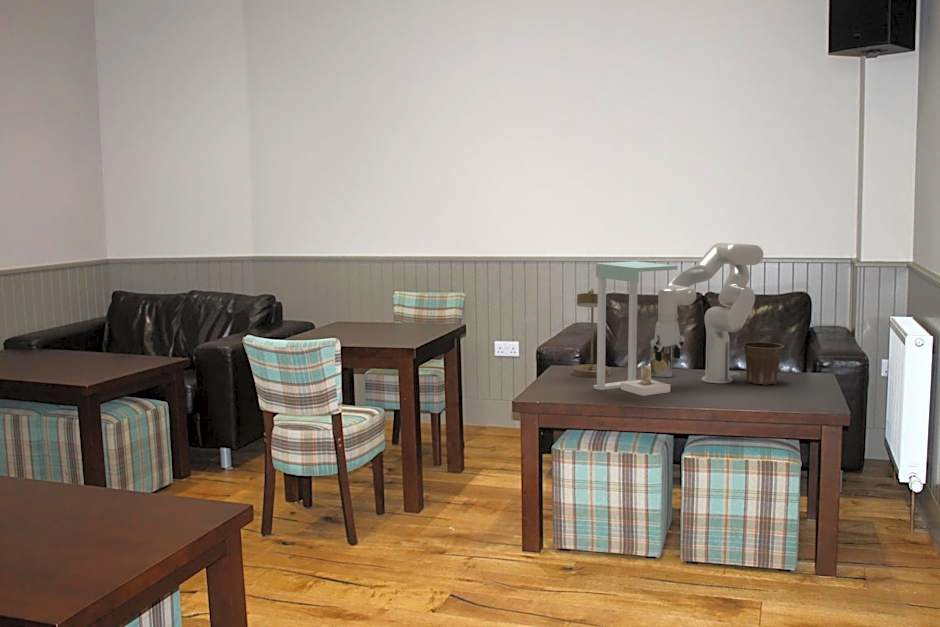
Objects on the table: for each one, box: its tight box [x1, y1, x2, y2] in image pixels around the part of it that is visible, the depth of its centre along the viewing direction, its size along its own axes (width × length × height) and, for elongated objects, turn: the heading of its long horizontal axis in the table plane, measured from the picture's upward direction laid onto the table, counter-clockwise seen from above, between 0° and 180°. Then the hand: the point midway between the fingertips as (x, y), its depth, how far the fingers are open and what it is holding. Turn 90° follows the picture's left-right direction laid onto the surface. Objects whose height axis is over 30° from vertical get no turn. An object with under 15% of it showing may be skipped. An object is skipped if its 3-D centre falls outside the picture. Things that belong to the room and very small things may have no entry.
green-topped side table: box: [592, 260, 678, 391], centre depth 389 cm, size 20×27×52 cm
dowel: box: [640, 365, 652, 385], centre depth 393 cm, size 4×4×10 cm
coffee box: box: [649, 337, 673, 378], centre depth 424 cm, size 9×6×16 cm
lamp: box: [571, 288, 611, 378], centre depth 423 cm, size 17×27×38 cm, turn 169°
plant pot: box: [742, 341, 784, 386], centre depth 407 cm, size 16×16×16 cm
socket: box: [620, 379, 671, 397], centre depth 394 cm, size 14×14×3 cm
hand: (667, 359), depth 398 cm, fingers open, 9 cm apart
